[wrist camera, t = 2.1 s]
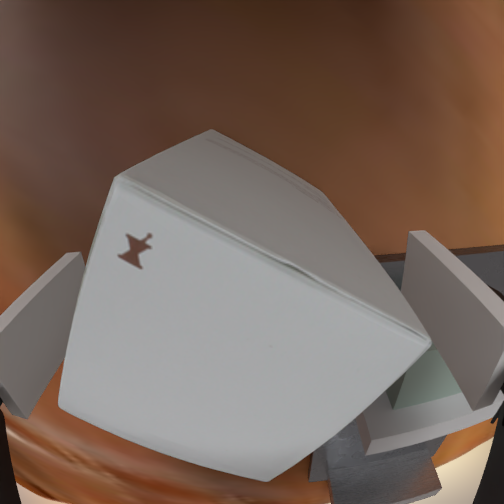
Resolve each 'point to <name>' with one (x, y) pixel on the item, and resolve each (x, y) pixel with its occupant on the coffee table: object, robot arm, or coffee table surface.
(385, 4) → the coffee table surface
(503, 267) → the vise
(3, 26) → the coffee table surface
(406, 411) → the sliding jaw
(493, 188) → the coffee table surface
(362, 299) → the supplement box
